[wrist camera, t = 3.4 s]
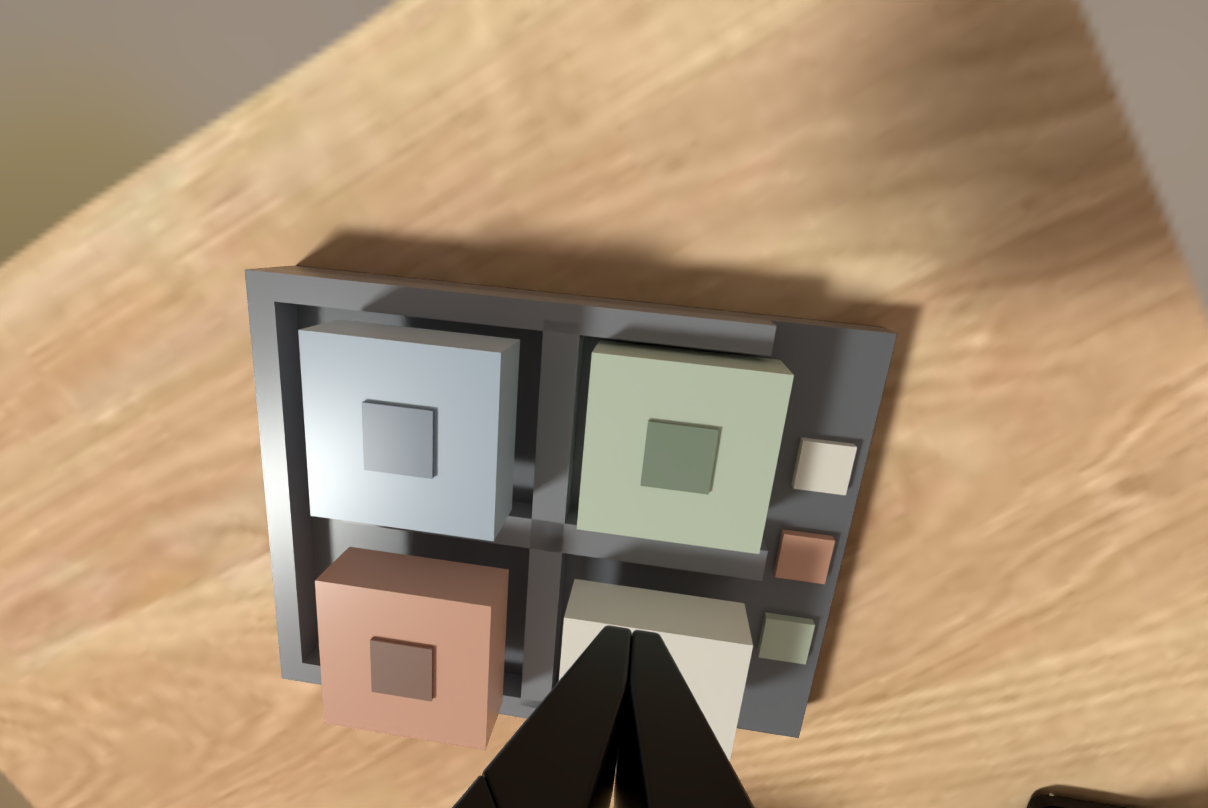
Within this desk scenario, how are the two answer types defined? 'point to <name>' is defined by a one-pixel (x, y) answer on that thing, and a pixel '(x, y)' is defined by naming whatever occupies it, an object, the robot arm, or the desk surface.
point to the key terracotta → (412, 645)
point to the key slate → (410, 426)
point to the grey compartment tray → (554, 465)
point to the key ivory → (672, 641)
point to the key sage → (681, 444)
